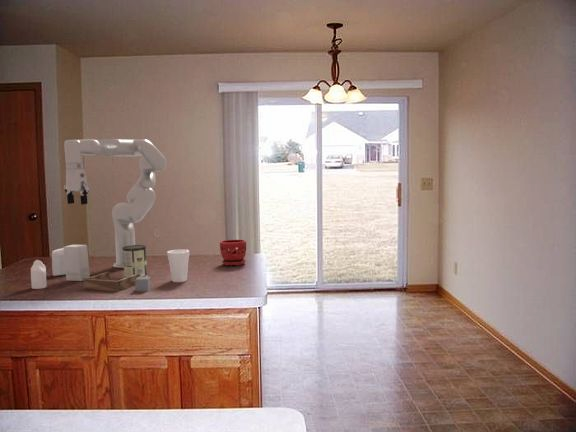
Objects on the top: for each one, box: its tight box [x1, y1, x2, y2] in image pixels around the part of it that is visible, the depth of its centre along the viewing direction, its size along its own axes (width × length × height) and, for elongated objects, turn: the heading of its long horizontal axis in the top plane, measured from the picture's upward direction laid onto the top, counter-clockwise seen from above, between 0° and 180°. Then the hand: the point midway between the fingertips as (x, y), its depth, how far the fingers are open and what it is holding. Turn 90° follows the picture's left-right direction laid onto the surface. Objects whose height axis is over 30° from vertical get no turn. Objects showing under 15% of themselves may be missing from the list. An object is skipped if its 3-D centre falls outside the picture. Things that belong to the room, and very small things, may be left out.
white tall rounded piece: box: [30, 259, 48, 290], centre depth 246 cm, size 6×12×6 cm
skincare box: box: [63, 244, 91, 282], centre depth 260 cm, size 8×7×16 cm
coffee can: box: [123, 244, 148, 278], centre depth 262 cm, size 10×10×14 cm
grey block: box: [135, 276, 152, 292], centre depth 239 cm, size 5×5×5 cm
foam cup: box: [166, 249, 190, 283], centre depth 254 cm, size 10×9×13 cm
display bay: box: [82, 271, 140, 292], centre depth 247 cm, size 16×17×4 cm
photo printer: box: [51, 247, 66, 277], centre depth 272 cm, size 10×4×12 cm, turn 123°
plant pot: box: [219, 239, 247, 267], centre depth 289 cm, size 13×13×12 cm
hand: (77, 203), depth 268 cm, fingers open, 9 cm apart
